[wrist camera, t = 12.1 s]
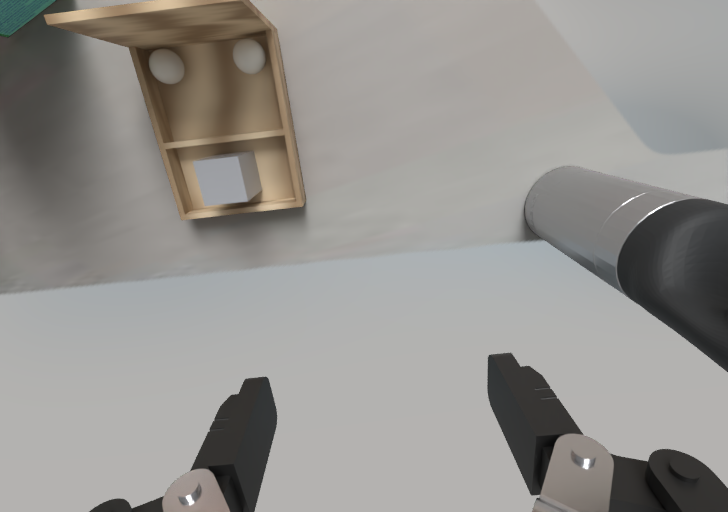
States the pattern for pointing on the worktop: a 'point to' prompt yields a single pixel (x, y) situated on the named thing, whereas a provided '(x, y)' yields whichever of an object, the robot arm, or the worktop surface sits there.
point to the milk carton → (19, 13)
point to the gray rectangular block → (228, 178)
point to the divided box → (207, 93)
